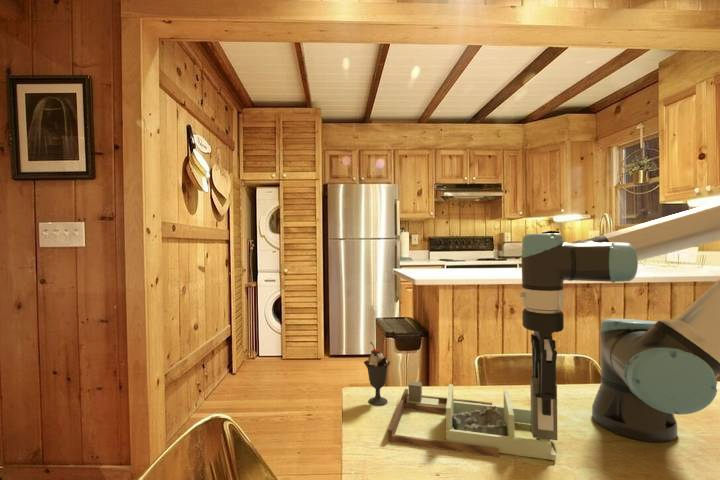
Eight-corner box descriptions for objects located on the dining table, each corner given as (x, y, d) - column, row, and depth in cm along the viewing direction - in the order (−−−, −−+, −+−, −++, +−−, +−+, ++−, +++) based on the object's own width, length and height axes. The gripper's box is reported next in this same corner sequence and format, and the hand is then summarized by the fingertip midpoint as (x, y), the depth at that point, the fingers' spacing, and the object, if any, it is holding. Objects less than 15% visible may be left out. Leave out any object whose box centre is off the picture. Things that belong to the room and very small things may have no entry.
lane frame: (492, 407, 92) (491, 397, 92) (498, 456, 71) (498, 444, 71) (405, 398, 98) (404, 388, 98) (388, 441, 77) (388, 429, 77)
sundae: (366, 395, 99) (365, 339, 99) (391, 396, 99) (390, 339, 98) (363, 407, 93) (362, 346, 93) (390, 408, 92) (389, 347, 92)
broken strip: (481, 407, 91) (481, 387, 91) (481, 414, 88) (481, 392, 88) (408, 399, 96) (408, 380, 96) (406, 405, 93) (406, 385, 93)
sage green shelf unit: (548, 424, 82) (548, 370, 82) (564, 461, 69) (563, 396, 69) (449, 413, 88) (449, 362, 88) (446, 445, 75) (445, 385, 75)
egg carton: (497, 423, 84) (497, 405, 84) (510, 441, 76) (510, 421, 76) (449, 423, 84) (449, 405, 84) (458, 441, 76) (458, 421, 76)
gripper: (517, 301, 85) (518, 404, 85) (528, 317, 69) (529, 443, 70) (554, 302, 83) (555, 408, 83) (573, 318, 67) (575, 449, 67)
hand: (543, 424), depth 76 cm, fingers open, 3 cm apart
